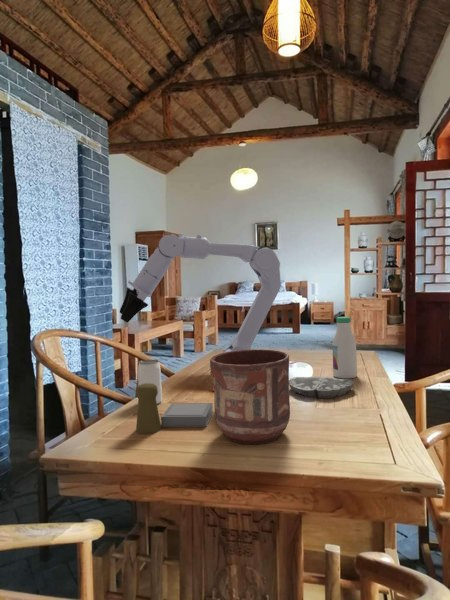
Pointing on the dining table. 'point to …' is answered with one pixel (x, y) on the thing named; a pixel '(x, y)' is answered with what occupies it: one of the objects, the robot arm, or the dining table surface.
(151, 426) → the olive bowling pin
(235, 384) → the pottery
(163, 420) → the grey flat square block
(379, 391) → the dining table surface
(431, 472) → the dining table surface
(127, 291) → the robot arm
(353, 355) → the milk bottle
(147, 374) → the can
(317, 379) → the brain slice
